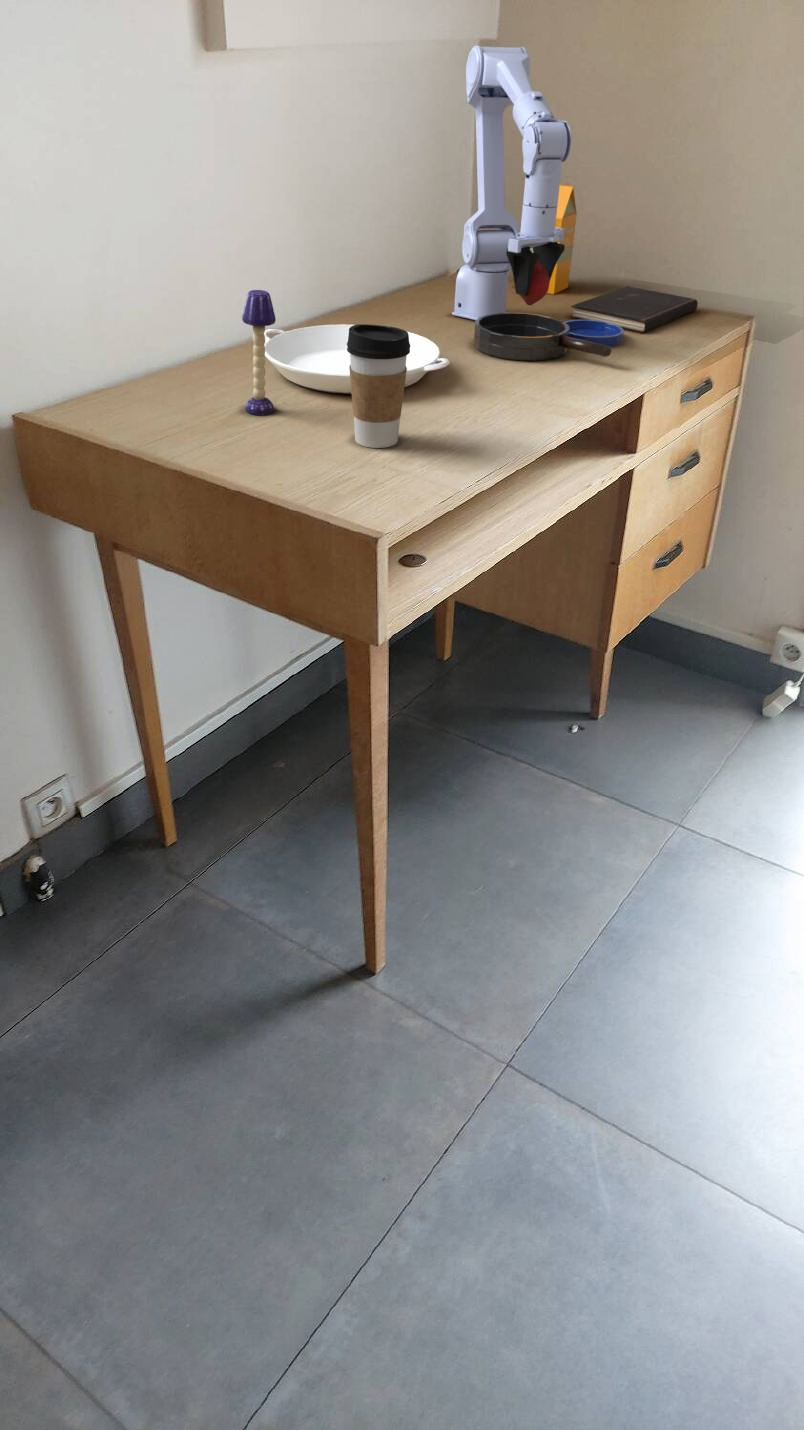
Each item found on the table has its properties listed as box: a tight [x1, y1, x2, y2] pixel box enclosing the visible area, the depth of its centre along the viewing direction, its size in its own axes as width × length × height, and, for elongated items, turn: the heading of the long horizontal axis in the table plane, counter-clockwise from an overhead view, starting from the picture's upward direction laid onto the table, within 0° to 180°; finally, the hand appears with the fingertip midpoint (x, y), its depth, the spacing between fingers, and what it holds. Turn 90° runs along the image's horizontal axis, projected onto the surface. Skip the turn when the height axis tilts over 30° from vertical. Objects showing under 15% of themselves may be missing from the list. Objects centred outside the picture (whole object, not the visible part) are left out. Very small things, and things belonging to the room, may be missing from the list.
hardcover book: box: [569, 285, 699, 334], centre depth 207 cm, size 16×23×2 cm
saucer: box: [564, 319, 625, 348], centre depth 192 cm, size 12×12×2 cm
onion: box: [518, 260, 549, 306], centre depth 180 cm, size 6×6×8 cm
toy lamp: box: [241, 289, 276, 416], centre depth 149 cm, size 5×5×17 cm
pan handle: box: [559, 336, 613, 358], centre depth 178 cm, size 10×2×2 cm, turn 52°
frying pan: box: [473, 311, 570, 362], centre depth 184 cm, size 16×16×4 cm
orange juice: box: [530, 184, 578, 295], centre depth 218 cm, size 8×9×20 cm
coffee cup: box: [347, 323, 410, 449], centre depth 141 cm, size 8×8×15 cm
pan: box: [264, 323, 451, 395], centre depth 169 cm, size 34×28×4 cm
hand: (531, 291), depth 181 cm, fingers closed on onion, 6 cm apart
